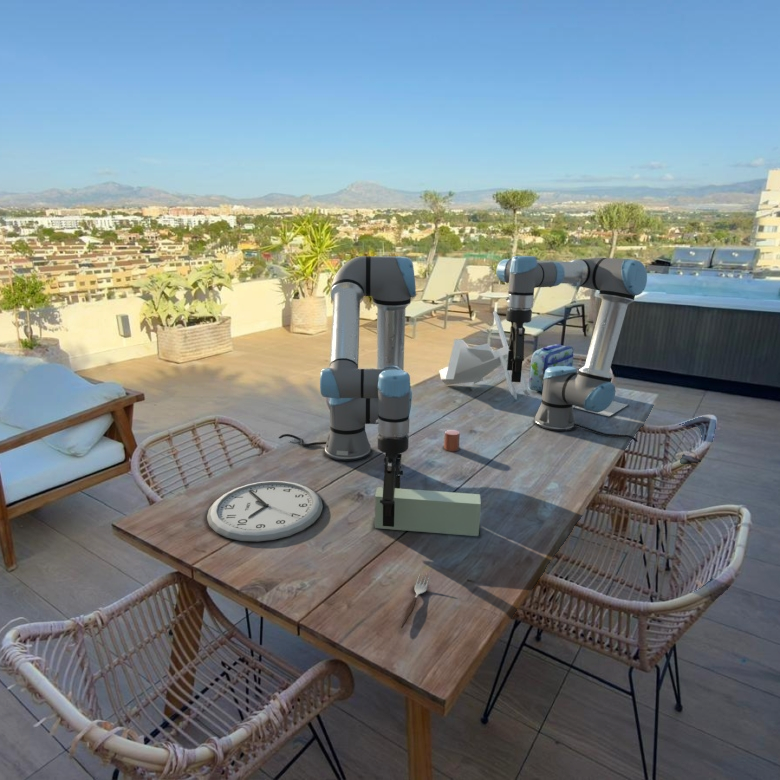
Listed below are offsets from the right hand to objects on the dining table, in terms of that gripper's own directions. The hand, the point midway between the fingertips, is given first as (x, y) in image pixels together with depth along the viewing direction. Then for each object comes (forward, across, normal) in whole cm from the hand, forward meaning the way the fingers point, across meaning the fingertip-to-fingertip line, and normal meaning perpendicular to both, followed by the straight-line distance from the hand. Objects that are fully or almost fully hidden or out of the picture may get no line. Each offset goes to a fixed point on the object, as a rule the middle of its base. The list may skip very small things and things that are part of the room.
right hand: (513, 375), depth 165 cm
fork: (+29, +74, -25) cm, 83 cm away
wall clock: (+29, +43, -67) cm, 85 cm away
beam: (+29, +45, -24) cm, 59 cm away
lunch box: (+29, -84, +28) cm, 93 cm away
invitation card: (+29, -61, +46) cm, 82 cm away
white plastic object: (+29, -73, -6) cm, 79 cm away
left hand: (+25, +45, -33) cm, 61 cm away
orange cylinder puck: (+29, -6, -18) cm, 34 cm away
